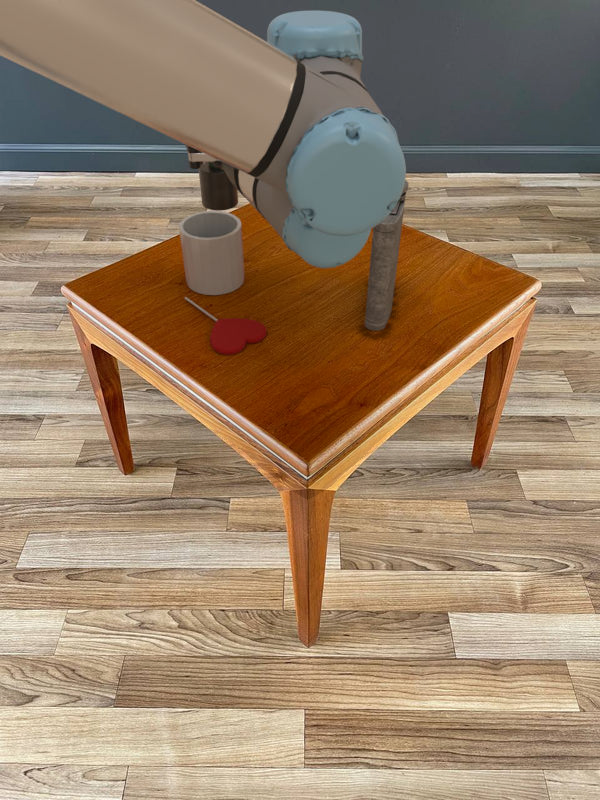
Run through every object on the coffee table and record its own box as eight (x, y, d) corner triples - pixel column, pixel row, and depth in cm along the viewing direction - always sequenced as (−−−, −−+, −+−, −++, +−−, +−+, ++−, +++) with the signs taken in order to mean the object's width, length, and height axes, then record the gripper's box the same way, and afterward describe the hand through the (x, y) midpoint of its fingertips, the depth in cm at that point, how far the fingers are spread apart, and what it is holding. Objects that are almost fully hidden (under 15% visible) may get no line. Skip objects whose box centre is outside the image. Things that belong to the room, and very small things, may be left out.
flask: (396, 278, 98) (411, 160, 85) (390, 332, 87) (405, 207, 75) (372, 275, 98) (383, 158, 86) (363, 329, 87) (374, 205, 75)
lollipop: (162, 311, 91) (225, 360, 82) (161, 305, 90) (225, 354, 82) (208, 290, 95) (273, 335, 86) (208, 285, 94) (273, 330, 86)
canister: (180, 293, 94) (172, 238, 88) (192, 263, 100) (186, 209, 94) (239, 296, 93) (235, 240, 87) (248, 266, 100) (245, 212, 94)
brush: (198, 210, 83) (180, 38, 70) (205, 194, 87) (189, 28, 74) (235, 211, 83) (223, 39, 70) (240, 195, 87) (231, 29, 73)
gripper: (203, 219, 66) (144, 142, 82) (335, 193, 71) (255, 125, 86) (195, 145, 61) (134, 78, 77) (338, 123, 66) (253, 64, 81)
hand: (198, 103), depth 81 cm, fingers closed on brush, 2 cm apart
